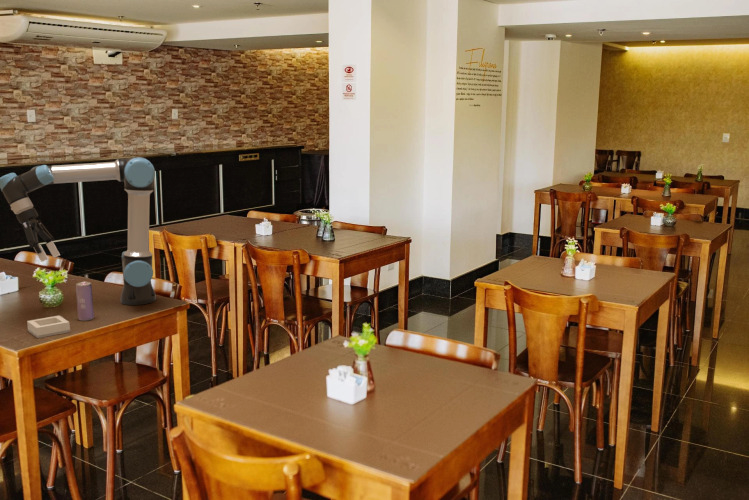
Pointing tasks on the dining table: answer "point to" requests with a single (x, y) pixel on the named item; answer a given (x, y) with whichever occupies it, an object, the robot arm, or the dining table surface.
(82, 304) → the beverage can
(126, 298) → the robot arm
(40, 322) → the holder
